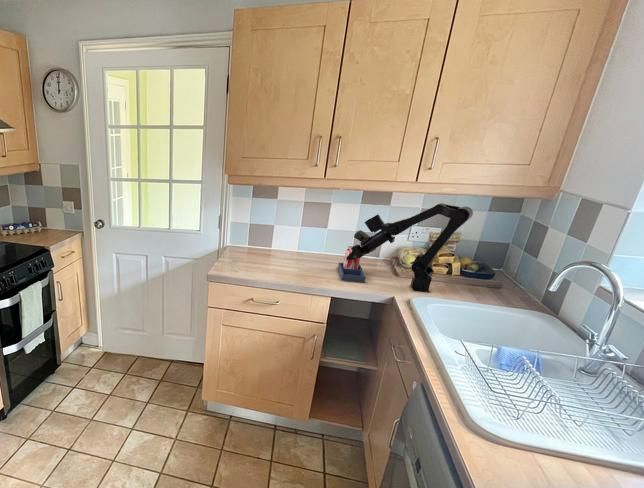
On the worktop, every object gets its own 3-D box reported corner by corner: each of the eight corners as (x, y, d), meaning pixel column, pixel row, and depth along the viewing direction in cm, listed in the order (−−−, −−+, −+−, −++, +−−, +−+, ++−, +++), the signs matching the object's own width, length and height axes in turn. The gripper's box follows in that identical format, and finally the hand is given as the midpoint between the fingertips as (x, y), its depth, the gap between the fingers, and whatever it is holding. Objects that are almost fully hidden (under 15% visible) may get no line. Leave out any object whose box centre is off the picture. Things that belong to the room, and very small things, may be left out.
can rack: (358, 269, 212) (360, 264, 211) (364, 282, 195) (365, 276, 194) (337, 267, 214) (338, 262, 213) (341, 280, 198) (342, 274, 196)
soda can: (339, 268, 211) (343, 246, 206) (352, 268, 212) (356, 245, 207) (347, 273, 205) (351, 250, 200) (360, 272, 206) (365, 249, 201)
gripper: (374, 223, 202) (348, 240, 214) (359, 229, 190) (332, 247, 202) (388, 241, 200) (360, 258, 212) (373, 249, 188) (345, 266, 200)
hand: (349, 257), depth 207 cm, fingers closed on soda can, 7 cm apart
